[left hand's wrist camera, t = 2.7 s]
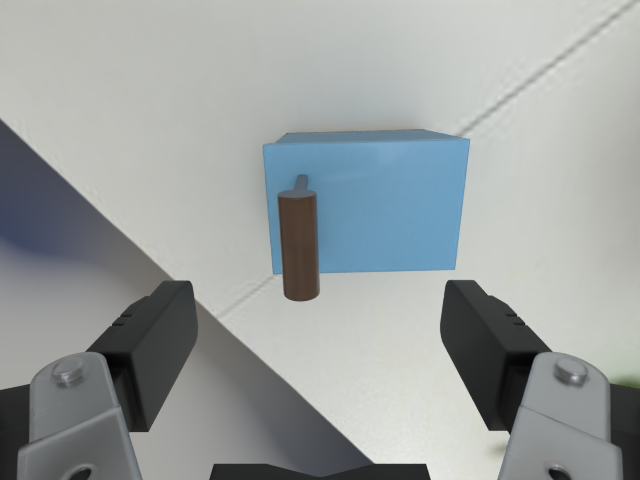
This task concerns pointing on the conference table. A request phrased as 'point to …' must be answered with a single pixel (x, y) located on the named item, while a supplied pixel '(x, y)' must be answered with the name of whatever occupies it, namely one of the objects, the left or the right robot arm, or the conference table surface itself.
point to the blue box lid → (363, 207)
